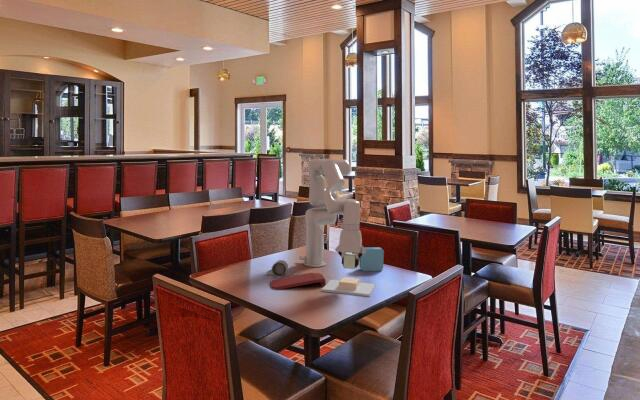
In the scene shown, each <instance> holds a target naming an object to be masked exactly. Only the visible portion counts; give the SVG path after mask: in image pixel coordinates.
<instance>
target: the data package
mask: <svg viewBox="0 0 640 400" xmlns="http://www.w3.org/2000/svg"><path fill="white" fill-rule="evenodd" d="M363 247H364V246H363ZM364 249H365V250H366V253H365V254H363V255H362V256H361V257H360V258H359V268H360V270H361V271H362V272H382V271H383V270H384V259H385V258H384V257H385V255H384V254H385V251H384V249H382V247H377V246H376V247H366V246H365V247H364ZM361 252H362V250H361V251H360V252H359V254H360V253H361Z"/></svg>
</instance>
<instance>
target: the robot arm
mask: <svg viewBox="0 0 640 400" xmlns="http://www.w3.org/2000/svg"><path fill="white" fill-rule="evenodd" d="M350 173H351V165H350V162H349V161H348V160H347V159H342V158H340V159H337V158H334V159H333V158H314V159H311V160H310V161H309V162H308V164H307V174H308V176H309V192H308V193H309V194H308V201H309V204H310V205H311V206H314V207H315V208H314V207H313V208H309V209H307V210H306V211H305V214H304V215H305V217H304V218H305V225H306V226H305V227H306V244H305V245H306V249H305V254H306V255H299V256H298V258H299V260H300V261H303V262H302V263H303V265H304V266H306V267H308V268H309V267H310V268H318V267H319V268H321V267H324V266H326V265H327V264H326V261H325V260H324V246H325V245H324V241H325V235H324V231H323V229H322V228H321V226H329V225H331V226H332V225H334V224H335V223H336V221H337V217H338V215H339V216H340V215H342V218H343V220H342V221H343V222H342V224H339V226H340V228H342V229H341V230H340V233H339V241H338V245H337V246H336V247H335V248H334V251H336V253H337V254H338V255H339V256H340V257H341V265H342V267H344V255H345V254H346V253H351V254H355V256H356V259H355V269H356V268H357V267H358V266H360V257H361V256H362V255H363V254H365V253H366V250H365V249H364V245H363V239H362V238H363V237H362V231H361V230H360V222H361V221H360V218H361V216H360V215H361V203H360V201H358V200H355V199H354V198H349V197H348V198H343V197H342V198H339V196H338V191H340V190H341V189H343V188H344V186H345V184H346V181H345V178H344V177H346V176H349V175H350ZM326 184H327V186H326ZM361 250H362V252H361V253H360V251H361Z"/></svg>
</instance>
